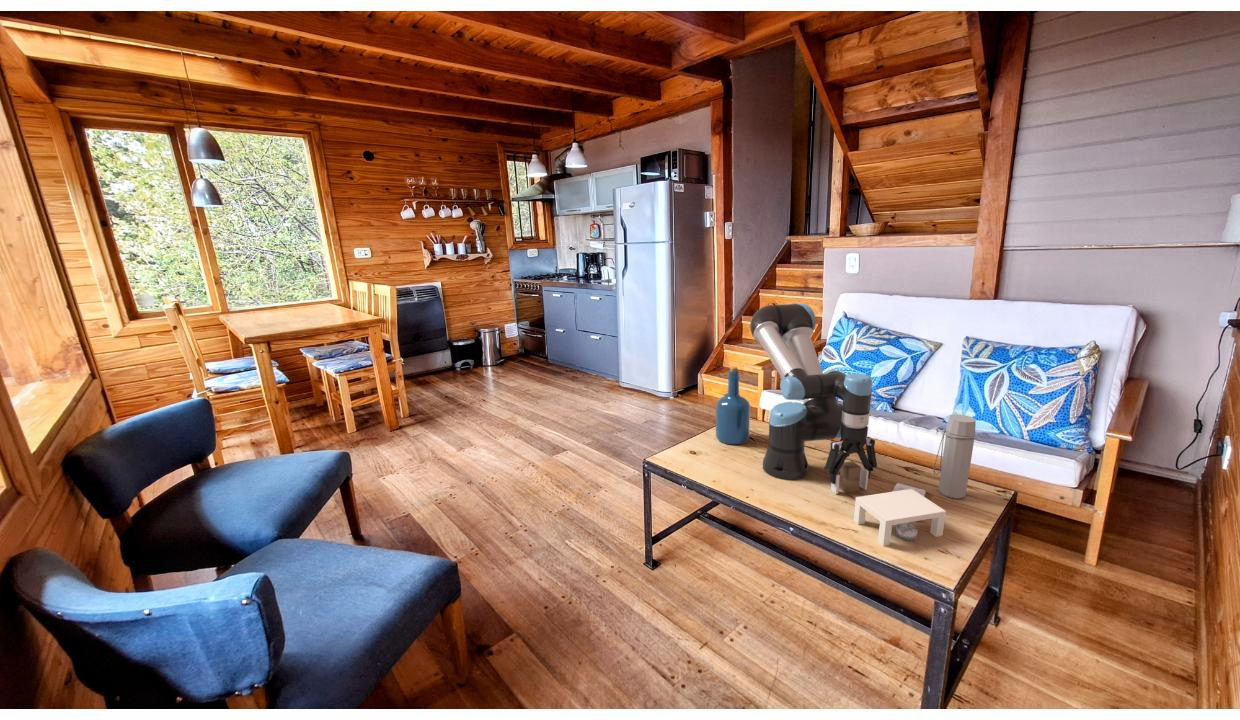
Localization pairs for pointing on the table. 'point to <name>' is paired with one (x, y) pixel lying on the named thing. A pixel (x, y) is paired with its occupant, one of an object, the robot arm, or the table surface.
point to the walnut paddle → (850, 479)
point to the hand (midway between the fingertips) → (848, 489)
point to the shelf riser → (899, 511)
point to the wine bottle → (733, 413)
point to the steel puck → (906, 532)
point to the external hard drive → (904, 487)
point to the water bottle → (956, 455)
